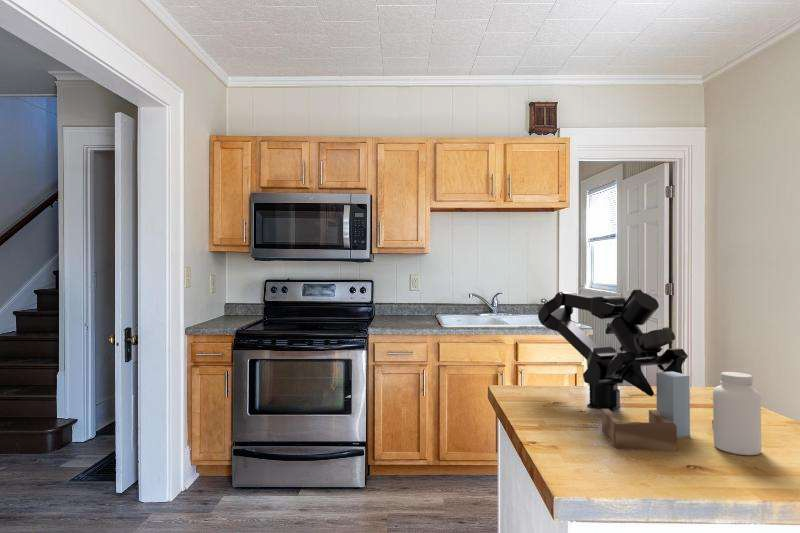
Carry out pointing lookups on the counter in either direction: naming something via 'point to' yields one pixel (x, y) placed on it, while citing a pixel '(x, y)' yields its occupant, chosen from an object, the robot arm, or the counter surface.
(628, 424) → the brown wooden tray
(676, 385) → the block
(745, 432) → the pill bottle
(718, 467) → the counter surface
